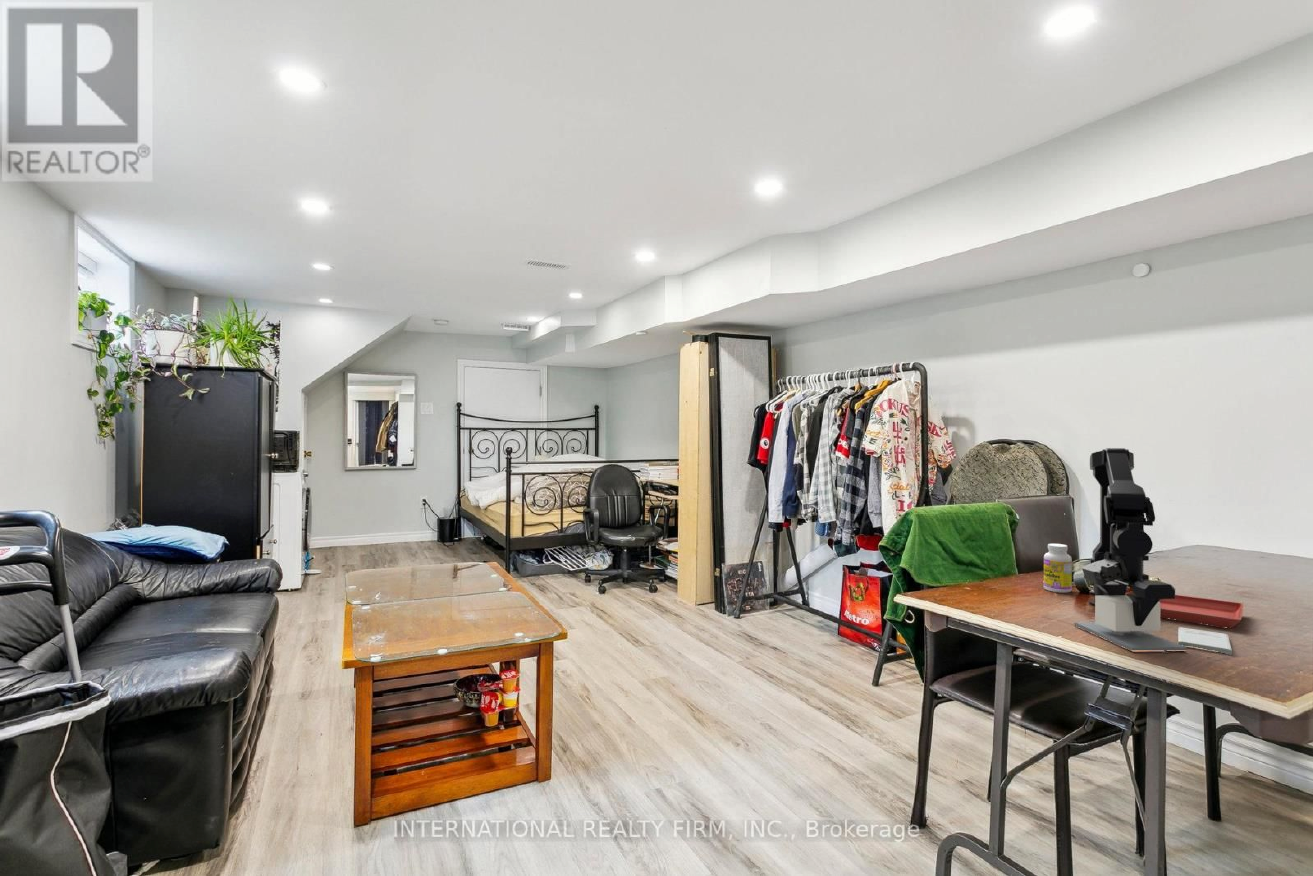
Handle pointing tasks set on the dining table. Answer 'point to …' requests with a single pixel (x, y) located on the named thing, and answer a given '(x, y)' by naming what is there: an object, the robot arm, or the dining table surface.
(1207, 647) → the external hard drive
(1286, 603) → the dining table surface
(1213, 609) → the plant saucer
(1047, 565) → the supplement bottle
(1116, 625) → the block
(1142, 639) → the base plate
